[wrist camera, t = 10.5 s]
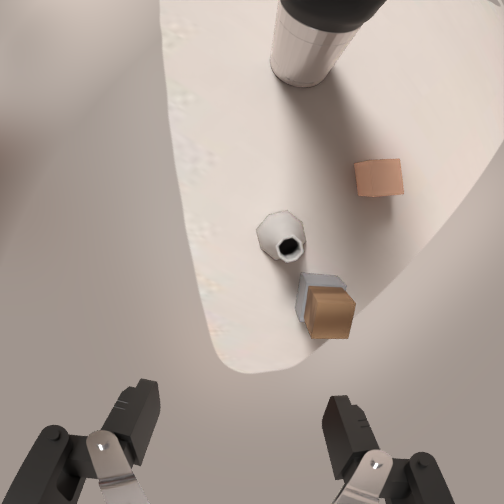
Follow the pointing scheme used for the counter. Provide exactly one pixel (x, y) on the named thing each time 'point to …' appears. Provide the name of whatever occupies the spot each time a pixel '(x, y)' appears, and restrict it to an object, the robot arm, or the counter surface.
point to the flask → (282, 236)
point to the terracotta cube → (379, 177)
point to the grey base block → (313, 280)
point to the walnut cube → (328, 312)
